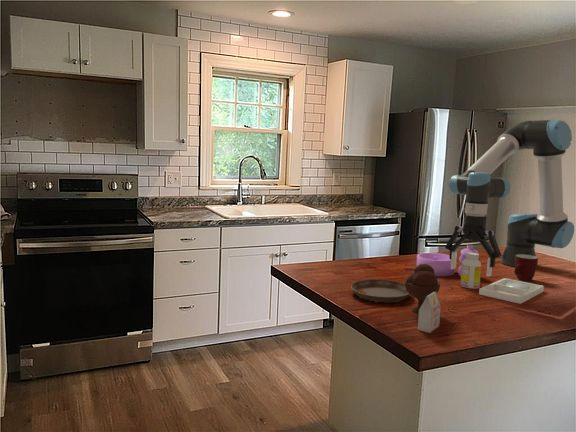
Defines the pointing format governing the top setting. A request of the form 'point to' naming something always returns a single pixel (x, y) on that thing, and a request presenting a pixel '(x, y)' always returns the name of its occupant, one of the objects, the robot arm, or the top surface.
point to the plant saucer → (380, 290)
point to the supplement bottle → (471, 271)
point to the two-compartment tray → (511, 291)
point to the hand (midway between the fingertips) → (470, 272)
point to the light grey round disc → (518, 286)
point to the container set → (443, 261)
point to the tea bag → (429, 314)
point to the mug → (525, 266)
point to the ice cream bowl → (421, 284)
